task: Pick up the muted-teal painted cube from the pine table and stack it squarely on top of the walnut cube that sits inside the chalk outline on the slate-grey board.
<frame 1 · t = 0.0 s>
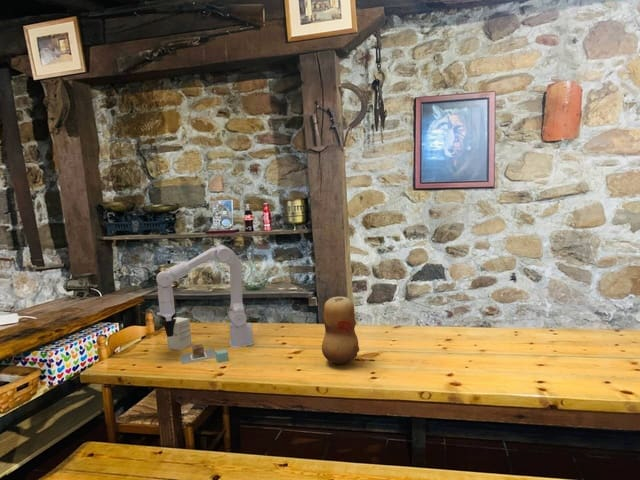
hand: (169, 333, 172), 10 cm above the table, tool pointing down, fingers open, 7 cm apart
walnut block: (198, 356, 172), point 1 cm above the table, touching slate board
supplement box: (180, 348, 184), on the table
teal block: (222, 361, 166), on the table
butternut squash: (341, 363, 159), on the table
slate board: (198, 357, 172), on the table
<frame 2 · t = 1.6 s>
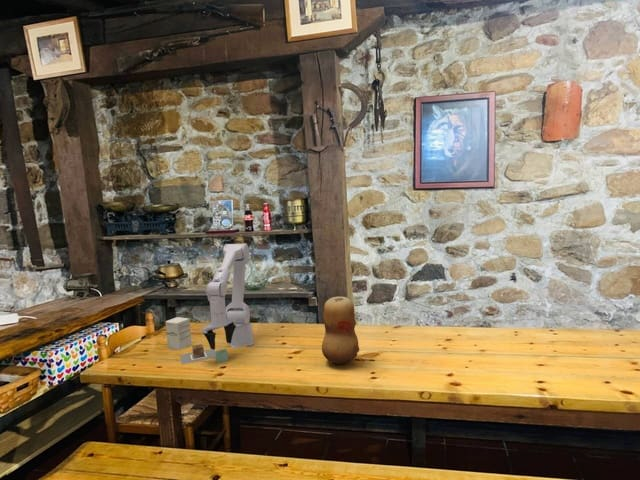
hand: (221, 345, 166), 6 cm above the table, tool pointing down, fingers open, 7 cm apart
nothing on the table moved.
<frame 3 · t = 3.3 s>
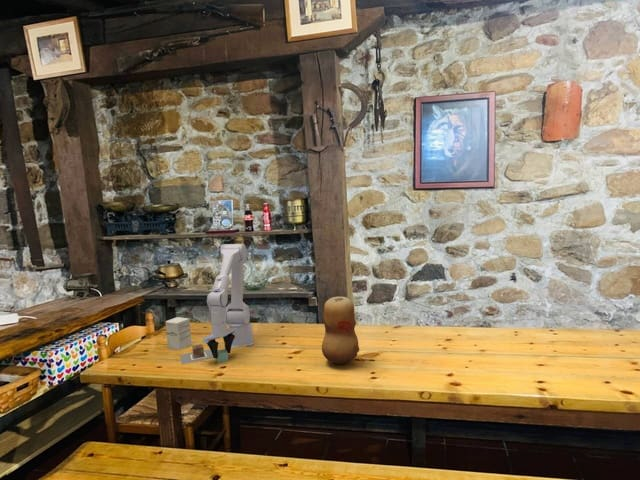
hand: (221, 355, 166), 2 cm above the table, tool pointing down, fingers closed on teal block, 5 cm apart
teal block: (222, 361, 166), on the table, touching gripper
everything else where it was.
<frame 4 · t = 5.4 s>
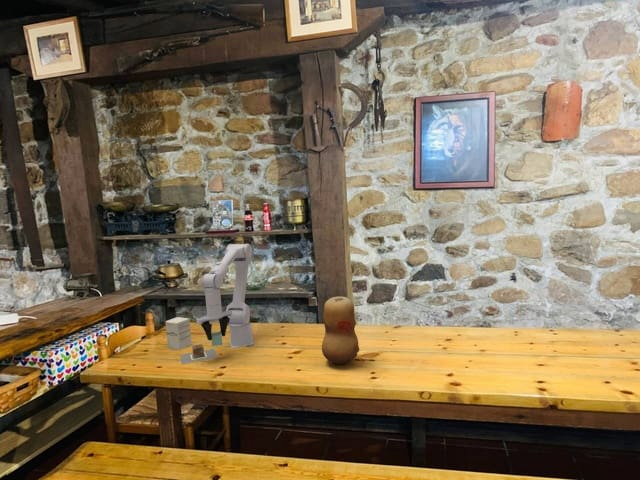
hand: (216, 337, 166), 9 cm above the table, tool pointing down, fingers closed on teal block, 5 cm apart
teal block: (217, 343, 166), point 7 cm above the table, touching gripper
everything else where it was.
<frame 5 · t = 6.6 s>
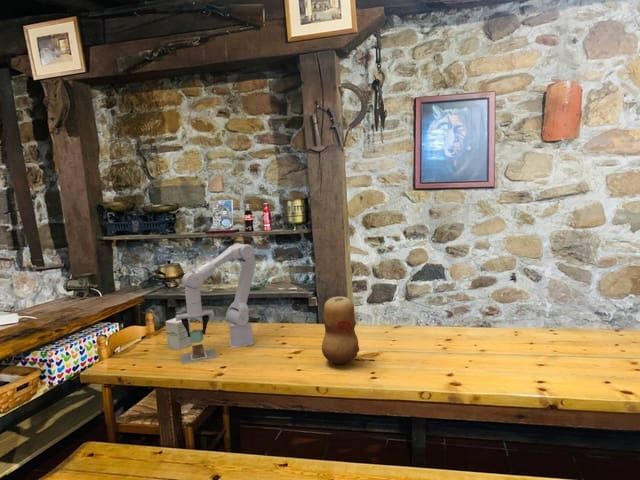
hand: (196, 335, 171), 9 cm above the table, tool pointing down, fingers closed on teal block, 5 cm apart
teal block: (197, 340, 171), point 7 cm above the table, touching gripper
everything else where it was.
when the fingers open (8 cm above the table, at t = 7.6 s): teal block stays where it is, resting on walnut block.
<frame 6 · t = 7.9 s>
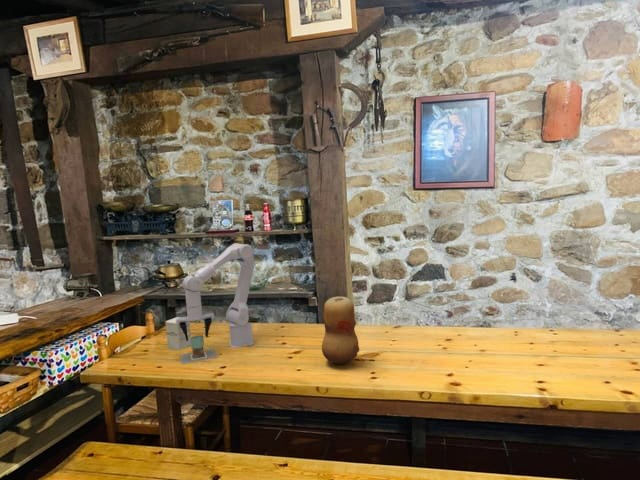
hand: (197, 338, 171), 8 cm above the table, tool pointing down, fingers open, 7 cm apart
walnut block: (198, 356, 172), point 1 cm above the table, touching slate board, teal block
teal block: (197, 346, 171), point 5 cm above the table, touching walnut block
everything else where it was.
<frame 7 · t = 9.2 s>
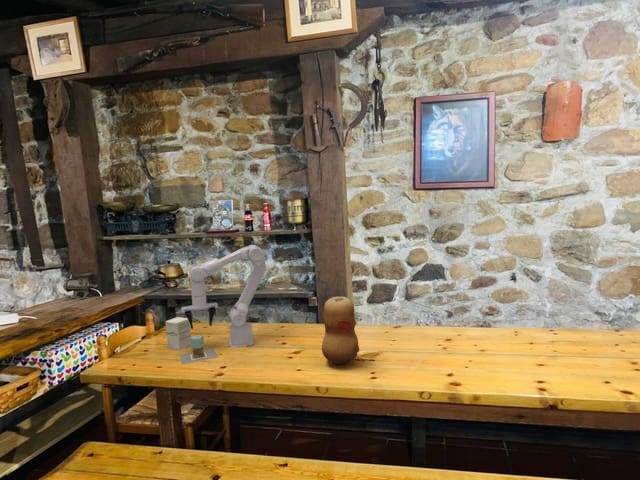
hand: (201, 326, 178), 10 cm above the table, tool pointing down, fingers open, 7 cm apart
nothing on the table moved.
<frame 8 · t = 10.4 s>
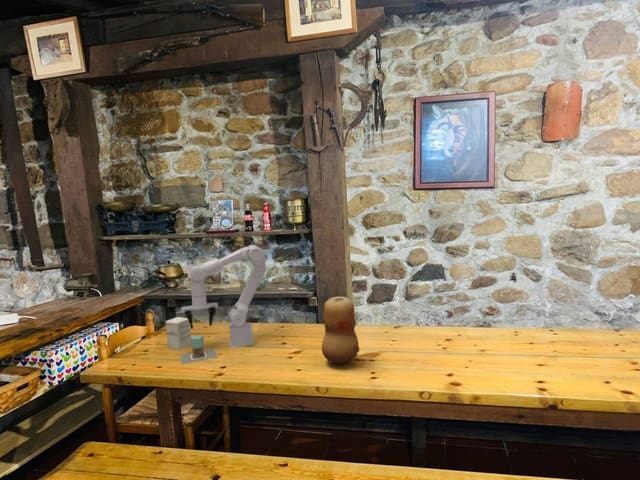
hand: (201, 326, 178), 10 cm above the table, tool pointing down, fingers open, 7 cm apart
nothing on the table moved.
at the end: teal block 0.0 cm off-centre on the walnut block, point 4.0 cm above the walnut block's base; teal block tilted 0°; walnut block tilted 0° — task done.
